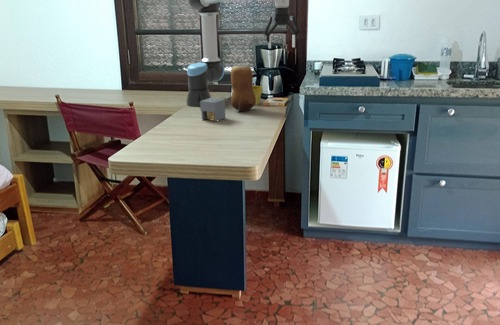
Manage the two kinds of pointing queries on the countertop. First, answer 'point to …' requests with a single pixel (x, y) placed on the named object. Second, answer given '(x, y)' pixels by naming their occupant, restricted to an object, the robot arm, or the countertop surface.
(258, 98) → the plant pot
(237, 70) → the butternut squash
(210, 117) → the ochre block
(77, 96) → the countertop surface
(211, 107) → the grey mini stool
